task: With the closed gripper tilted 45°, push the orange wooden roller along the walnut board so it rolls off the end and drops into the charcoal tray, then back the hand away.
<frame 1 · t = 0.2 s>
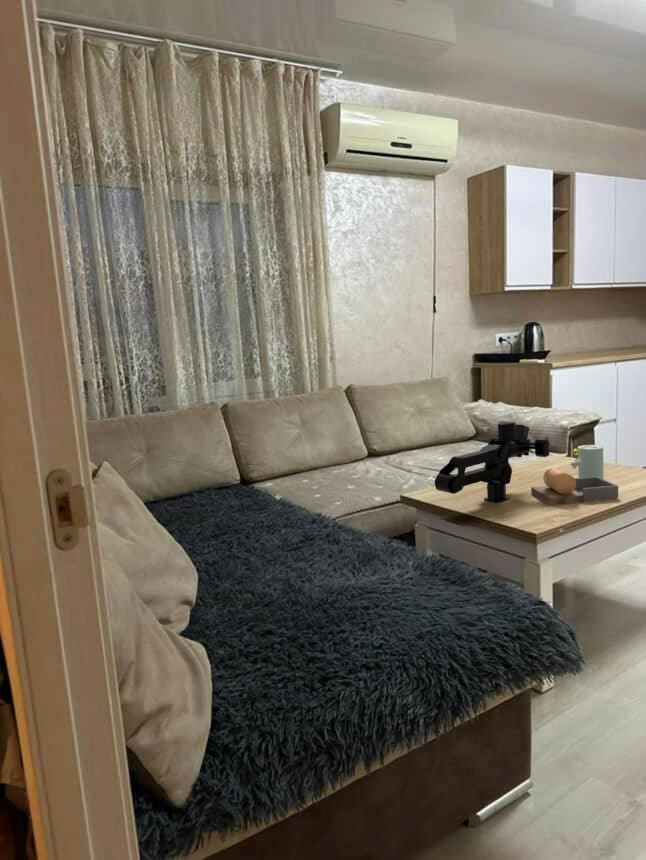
hand: (538, 443, 229), 16 cm above the table, tool horizontal, fingers open, 9 cm apart
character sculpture: (587, 481, 234), on the table
board: (556, 497, 214), on the table
tray: (591, 495, 214), on the table
roller: (559, 481, 213), point 6 cm above the table, touching board
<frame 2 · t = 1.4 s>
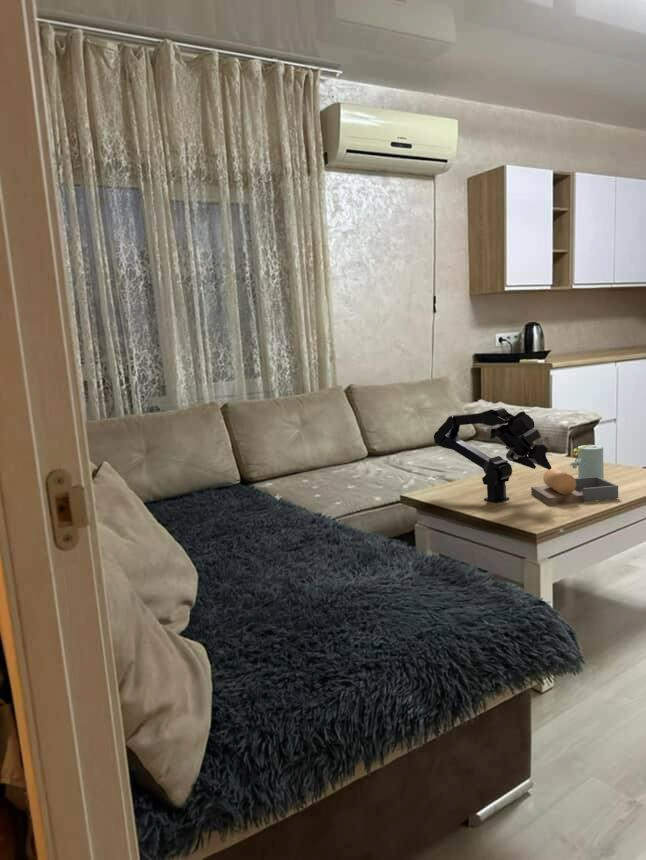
hand: (542, 468, 213), 11 cm above the table, tool tilted 45°, fingers open, 9 cm apart
nothing on the table moved.
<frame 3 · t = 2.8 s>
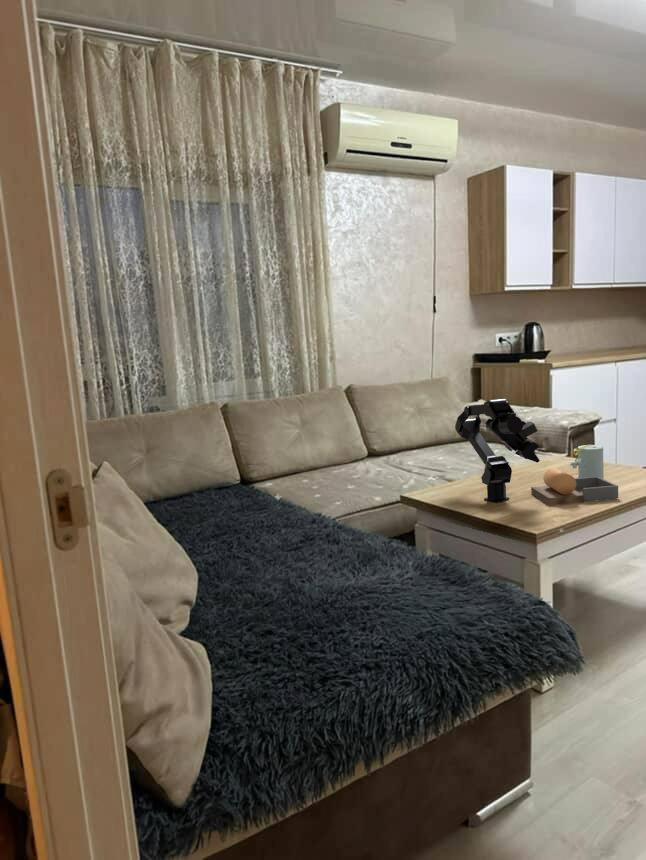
hand: (538, 461, 212), 14 cm above the table, tool tilted 45°, fingers closed
nothing on the table moved.
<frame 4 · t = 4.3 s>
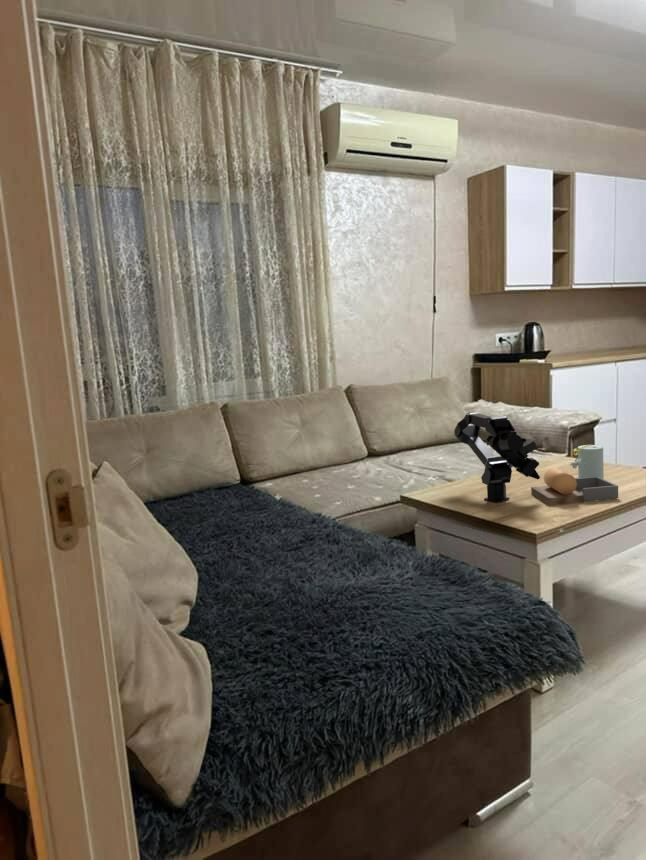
hand: (538, 478, 213), 8 cm above the table, tool tilted 45°, fingers closed
nothing on the table moved.
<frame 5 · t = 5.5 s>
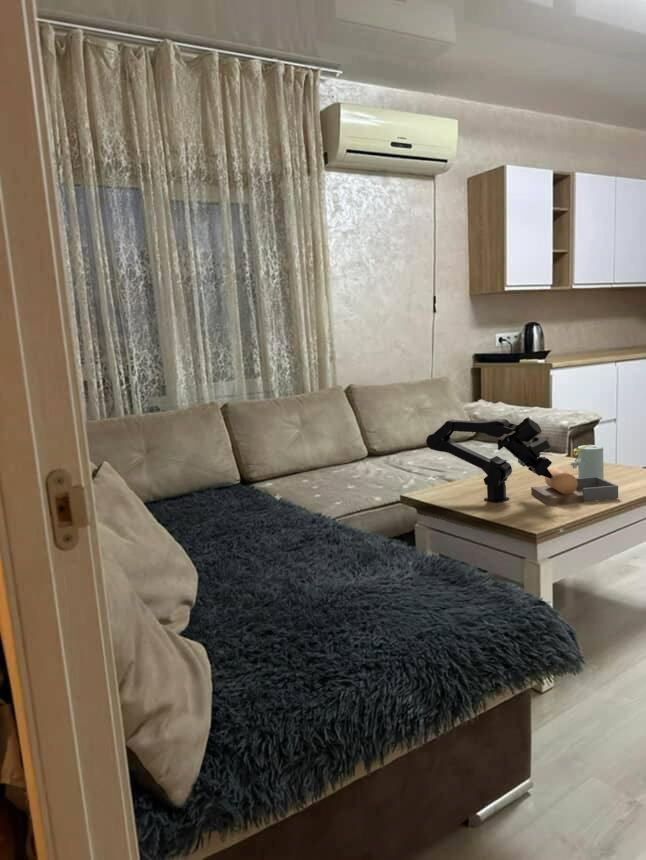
hand: (551, 477, 212), 8 cm above the table, tool tilted 45°, fingers closed
roller: (560, 480, 213), point 6 cm above the table, tilted 9°, touching board
everything else where it was.
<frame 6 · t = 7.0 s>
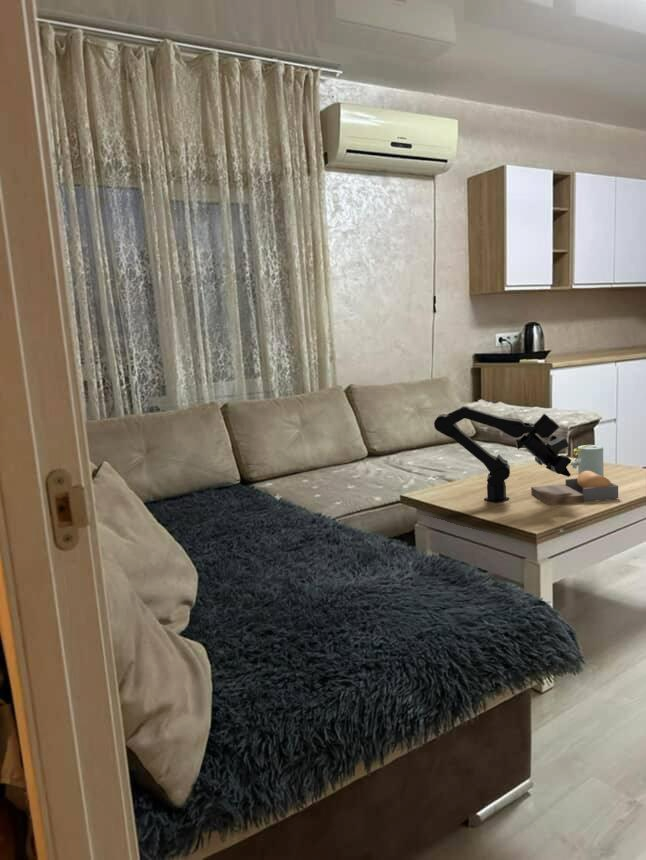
hand: (569, 475, 213), 8 cm above the table, tool tilted 45°, fingers closed
roller: (593, 483, 214), point 4 cm above the table, tilted 136°, touching tray
everything else where it was.
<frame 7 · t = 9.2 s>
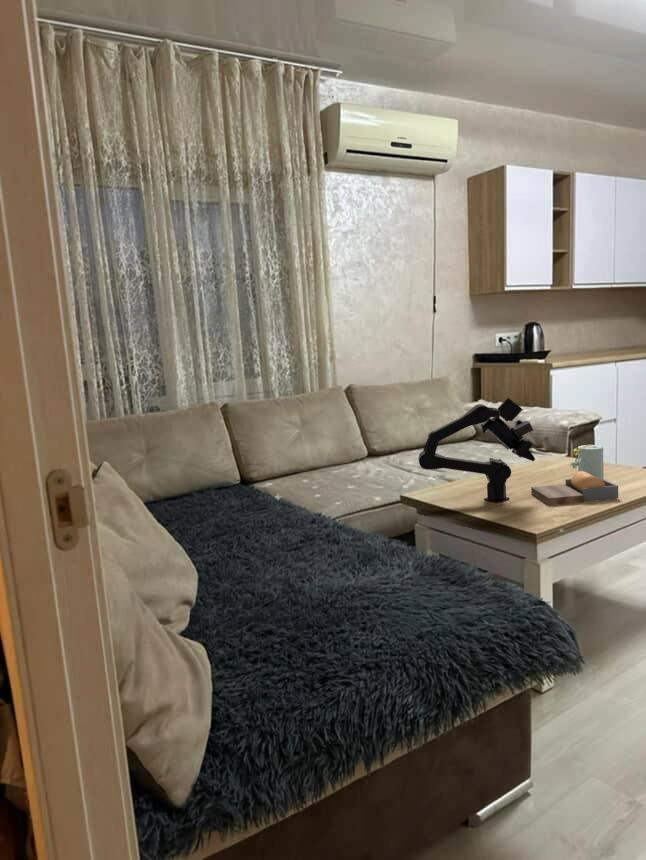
hand: (534, 460, 215), 13 cm above the table, tool tilted 45°, fingers closed
roller: (587, 484, 214), point 4 cm above the table, tilted 173°, touching tray
everything else where it was.
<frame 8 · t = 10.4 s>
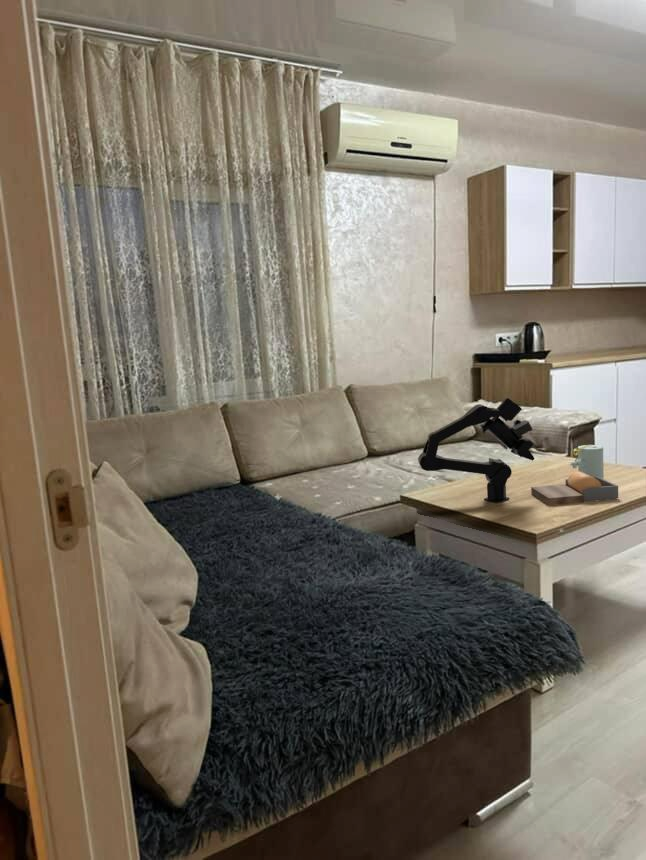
hand: (533, 459, 216), 14 cm above the table, tool tilted 45°, fingers closed
roller: (584, 484, 214), point 4 cm above the table, tilted 167°, touching tray
everything else where it was.
at the end: roller 2.5 cm from the tray (horizontally); roller point 4.0 cm above the table; roller touching tray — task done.
